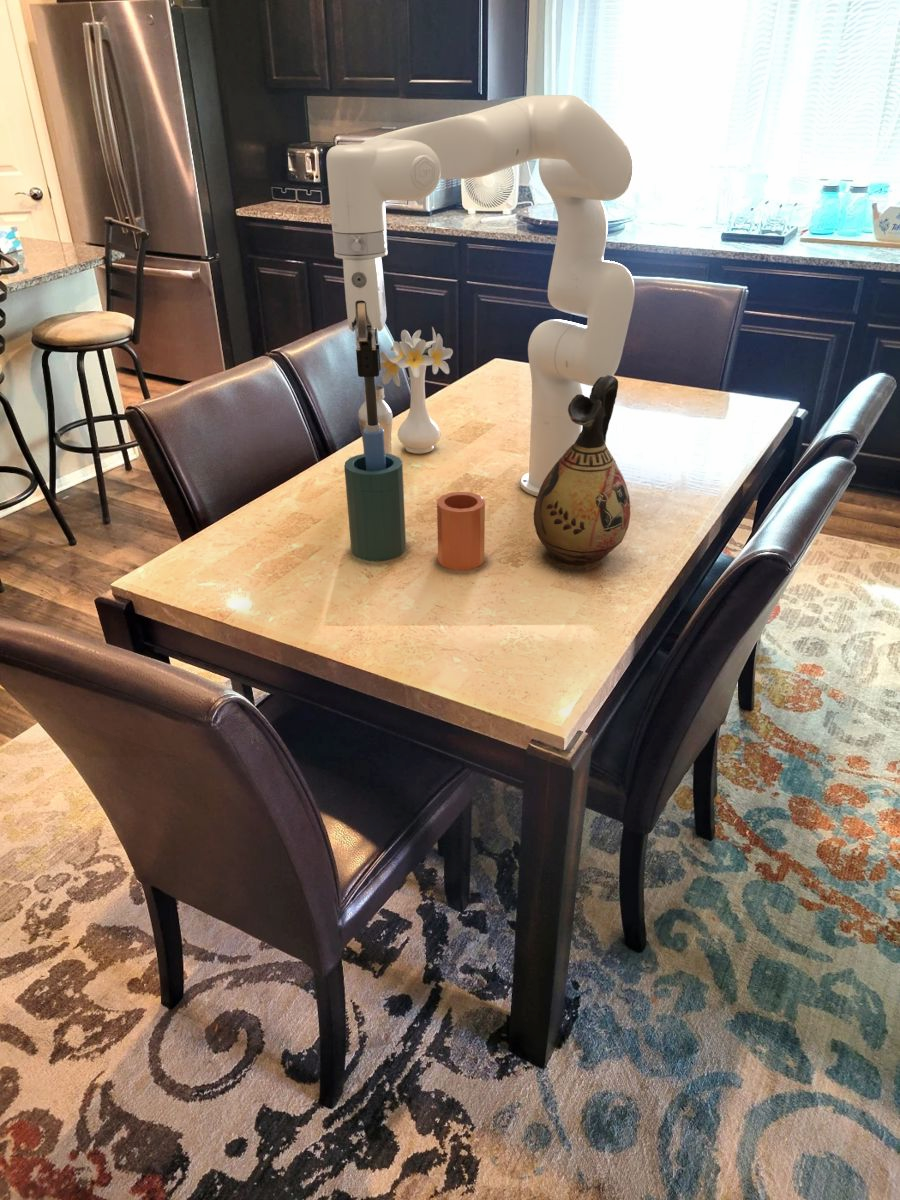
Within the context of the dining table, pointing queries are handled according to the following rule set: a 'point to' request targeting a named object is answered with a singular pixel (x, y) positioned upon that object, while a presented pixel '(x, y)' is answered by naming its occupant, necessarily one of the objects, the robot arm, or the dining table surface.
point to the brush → (373, 431)
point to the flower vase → (416, 386)
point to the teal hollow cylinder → (376, 509)
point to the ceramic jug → (585, 488)
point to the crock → (461, 530)
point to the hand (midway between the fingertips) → (369, 373)
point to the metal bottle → (383, 418)
